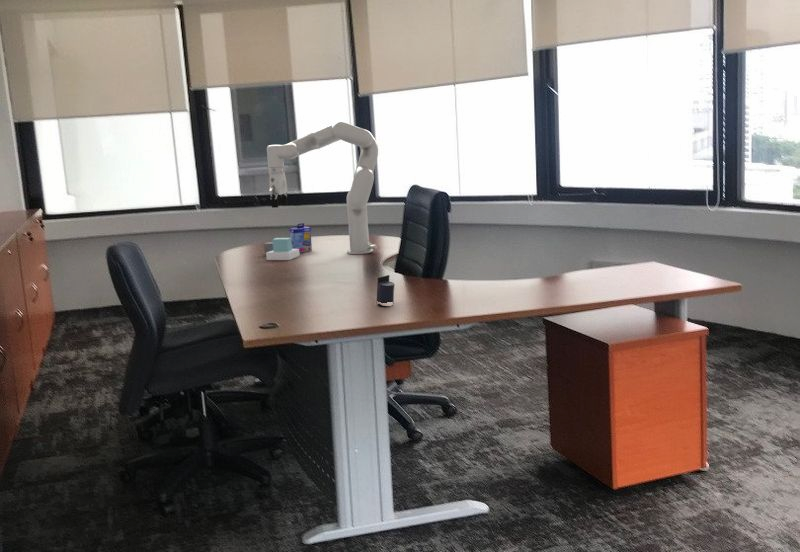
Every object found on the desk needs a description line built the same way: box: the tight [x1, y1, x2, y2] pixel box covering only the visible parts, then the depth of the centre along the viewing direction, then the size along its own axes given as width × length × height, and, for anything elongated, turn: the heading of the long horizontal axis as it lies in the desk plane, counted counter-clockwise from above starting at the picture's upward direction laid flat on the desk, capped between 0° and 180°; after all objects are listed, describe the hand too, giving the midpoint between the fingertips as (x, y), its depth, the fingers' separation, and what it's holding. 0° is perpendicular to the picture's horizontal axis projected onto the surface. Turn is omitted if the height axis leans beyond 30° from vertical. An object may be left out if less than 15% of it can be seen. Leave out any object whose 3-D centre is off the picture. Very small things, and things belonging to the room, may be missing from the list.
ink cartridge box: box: [289, 222, 313, 253], centre depth 460 cm, size 10×6×14 cm, turn 121°
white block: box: [265, 249, 301, 261], centre depth 444 cm, size 12×12×4 cm
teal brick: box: [271, 237, 292, 252], centre depth 443 cm, size 8×4×6 cm, turn 71°
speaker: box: [376, 274, 395, 303], centre depth 324 cm, size 8×6×10 cm
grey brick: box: [263, 241, 273, 256], centre depth 456 cm, size 8×4×6 cm, turn 71°
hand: (279, 206), depth 439 cm, fingers open, 9 cm apart
